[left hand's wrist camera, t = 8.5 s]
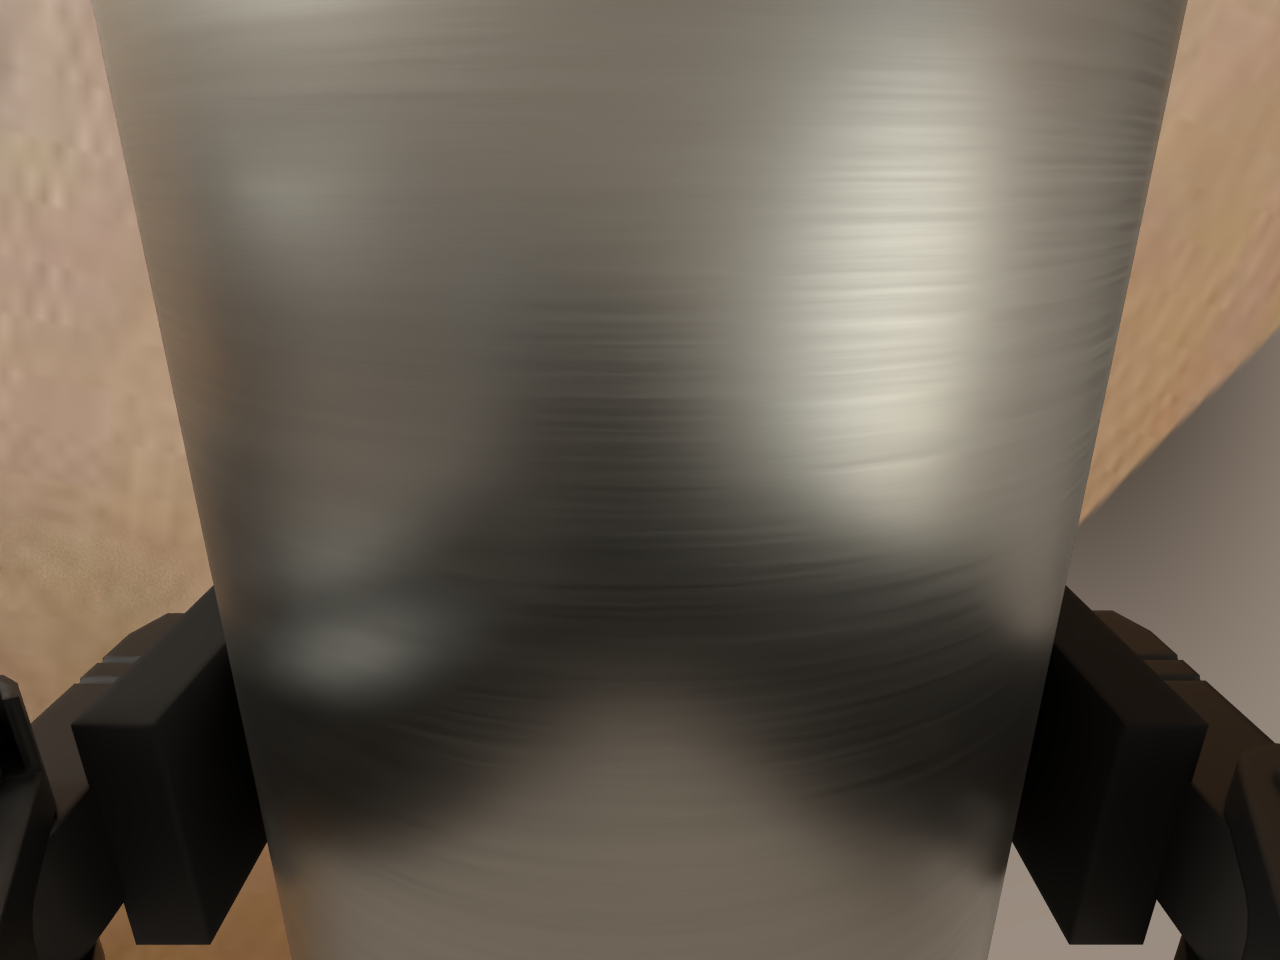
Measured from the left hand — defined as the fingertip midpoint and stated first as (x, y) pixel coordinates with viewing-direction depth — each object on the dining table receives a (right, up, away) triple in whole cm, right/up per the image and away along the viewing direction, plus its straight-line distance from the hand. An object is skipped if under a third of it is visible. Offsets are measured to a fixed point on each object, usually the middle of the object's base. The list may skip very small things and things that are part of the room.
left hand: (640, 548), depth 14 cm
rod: (0, +8, -3) cm, 9 cm away
